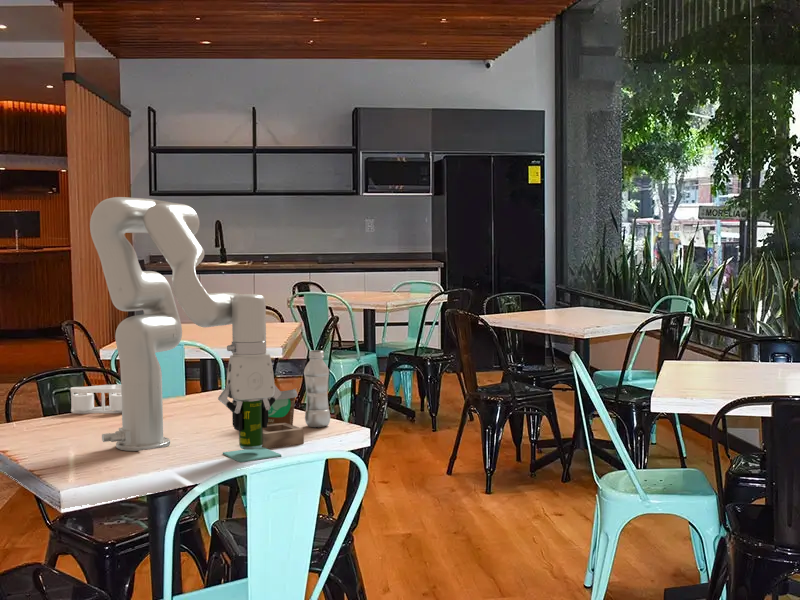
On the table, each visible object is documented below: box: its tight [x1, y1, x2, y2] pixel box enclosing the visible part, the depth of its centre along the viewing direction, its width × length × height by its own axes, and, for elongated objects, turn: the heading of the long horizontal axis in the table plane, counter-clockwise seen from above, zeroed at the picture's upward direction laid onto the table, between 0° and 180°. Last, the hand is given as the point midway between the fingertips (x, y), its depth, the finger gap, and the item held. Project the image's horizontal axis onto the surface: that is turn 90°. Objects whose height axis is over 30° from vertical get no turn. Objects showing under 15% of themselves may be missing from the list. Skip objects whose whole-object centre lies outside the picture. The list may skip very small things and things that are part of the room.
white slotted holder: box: [70, 384, 122, 415], centre depth 276 cm, size 20×11×7 cm, turn 87°
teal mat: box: [222, 447, 282, 463], centre depth 218 cm, size 10×10×1 cm
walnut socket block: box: [262, 423, 305, 449], centre depth 232 cm, size 10×10×4 cm
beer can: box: [238, 399, 263, 450], centre depth 218 cm, size 5×5×12 cm
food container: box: [267, 388, 298, 426], centre depth 250 cm, size 12×6×10 cm, turn 81°
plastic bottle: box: [303, 349, 331, 428], centre depth 250 cm, size 6×7×20 cm
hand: (250, 427), depth 218 cm, fingers closed on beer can, 5 cm apart
